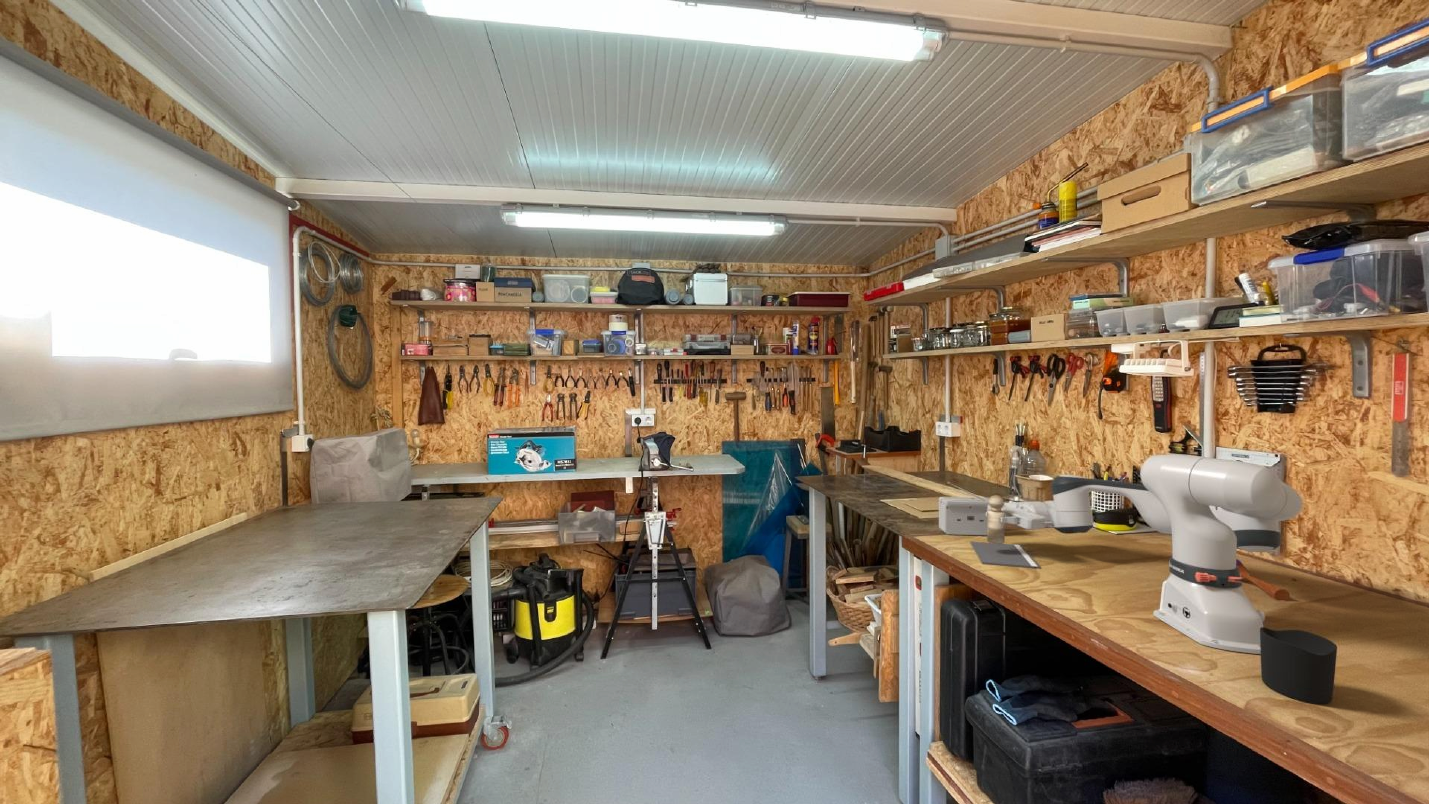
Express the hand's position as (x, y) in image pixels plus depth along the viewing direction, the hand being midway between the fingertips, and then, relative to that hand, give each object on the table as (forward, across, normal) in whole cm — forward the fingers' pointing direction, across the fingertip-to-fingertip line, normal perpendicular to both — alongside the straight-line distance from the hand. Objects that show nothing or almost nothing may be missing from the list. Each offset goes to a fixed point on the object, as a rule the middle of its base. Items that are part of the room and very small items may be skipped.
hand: (993, 517), depth 172 cm
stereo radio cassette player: (-8, +23, -13) cm, 27 cm away
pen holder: (-2, -78, -12) cm, 79 cm away
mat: (-3, -1, -12) cm, 13 cm away
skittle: (-1, 0, -8) cm, 8 cm away
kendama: (-50, -37, -13) cm, 64 cm away
